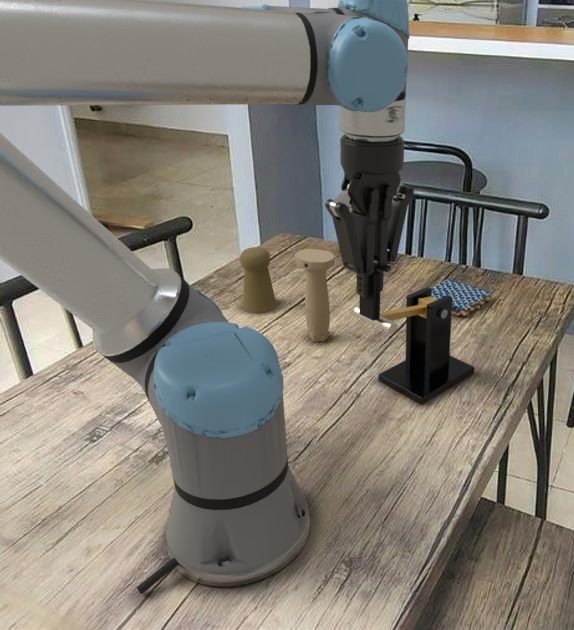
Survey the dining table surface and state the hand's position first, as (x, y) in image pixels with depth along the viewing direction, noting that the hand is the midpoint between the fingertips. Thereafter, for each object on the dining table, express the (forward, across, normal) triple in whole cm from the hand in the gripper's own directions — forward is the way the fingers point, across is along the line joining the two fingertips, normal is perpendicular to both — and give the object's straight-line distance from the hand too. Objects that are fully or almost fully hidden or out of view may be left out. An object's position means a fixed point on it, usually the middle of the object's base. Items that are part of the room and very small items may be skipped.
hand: (369, 315), depth 90 cm
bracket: (+14, +12, 0) cm, 19 cm away
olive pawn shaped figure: (+15, +8, +38) cm, 42 cm away
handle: (+15, +8, +21) cm, 27 cm away
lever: (+3, +7, 0) cm, 7 cm away
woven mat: (+14, +35, +14) cm, 40 cm away
